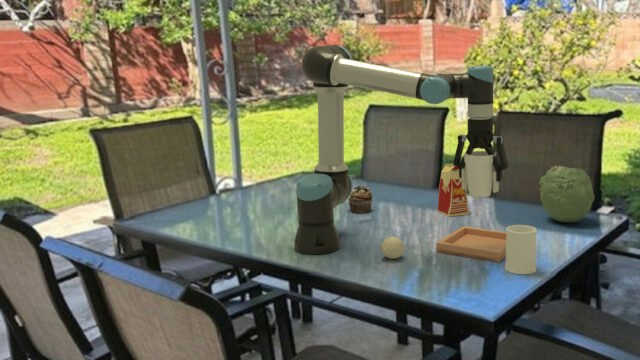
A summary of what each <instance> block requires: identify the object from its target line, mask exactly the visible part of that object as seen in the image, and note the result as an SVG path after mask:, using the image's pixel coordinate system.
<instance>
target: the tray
mask: <svg viewBox="0 0 640 360" xmlns="http://www.w3.org/2000/svg"><path fill="white" fill-rule="evenodd" d="M436 253H441V254H446V255H447V254H448V255H453V256H458V257H459V256H460V257H465V258H472V259H475V260H476V259H477V260H483V261H489V262H495V263H500V262H502V260H504V259H506V231H501V230H500V231H499V230H494V229H485V228H478V227H471V226H461V227H460V228H458V229H456V230H454V231H453V232H452V233H449V234H448V235H447V236H445V237H444V238H441V239H440V240H439V241H437V242H436Z"/></svg>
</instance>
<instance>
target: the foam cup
mask: <svg viewBox="0 0 640 360" xmlns="http://www.w3.org/2000/svg"><path fill="white" fill-rule="evenodd" d="M463 156H464V162H465V167H466V172H467V188H468V193H469V196H470V197H473V198H486V197H490V196H491V193H492V189H493V171H495V167H494V165H493V156H497V152H495V154H494V155H488V153H487V152H486V151H485V150H473V152H472V154H471V155H468V154H467V153H465V152H464V154H463Z"/></svg>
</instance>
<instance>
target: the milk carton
mask: <svg viewBox="0 0 640 360" xmlns="http://www.w3.org/2000/svg"><path fill="white" fill-rule="evenodd" d="M443 165H444V167H443V169H442V170H441V173H440V180H439V186H438V188H439V189H438V195H437V197H438V199H437V213H438V214H442V215H443V216H446V217H447V218H450V217H457V216H465V215H470V208H469V203H468V202H469V201H468V196H467V190H466V189H467V188H466V189H462V178H459V168H458V167H457V166H454V165H453V162H452V163H443Z"/></svg>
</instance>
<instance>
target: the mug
mask: <svg viewBox="0 0 640 360" xmlns="http://www.w3.org/2000/svg"><path fill="white" fill-rule="evenodd" d="M505 229H506V230H505V232H506V257H505V265H504V270H505V271H506V272H508V273H510V274H514V275H531V274H534V273H536V272H537V264H536V263H537V259H536V258H537V228H536V227H534V226H532V225H527V224H513V225H509V226H507V227H506V228H505Z"/></svg>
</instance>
